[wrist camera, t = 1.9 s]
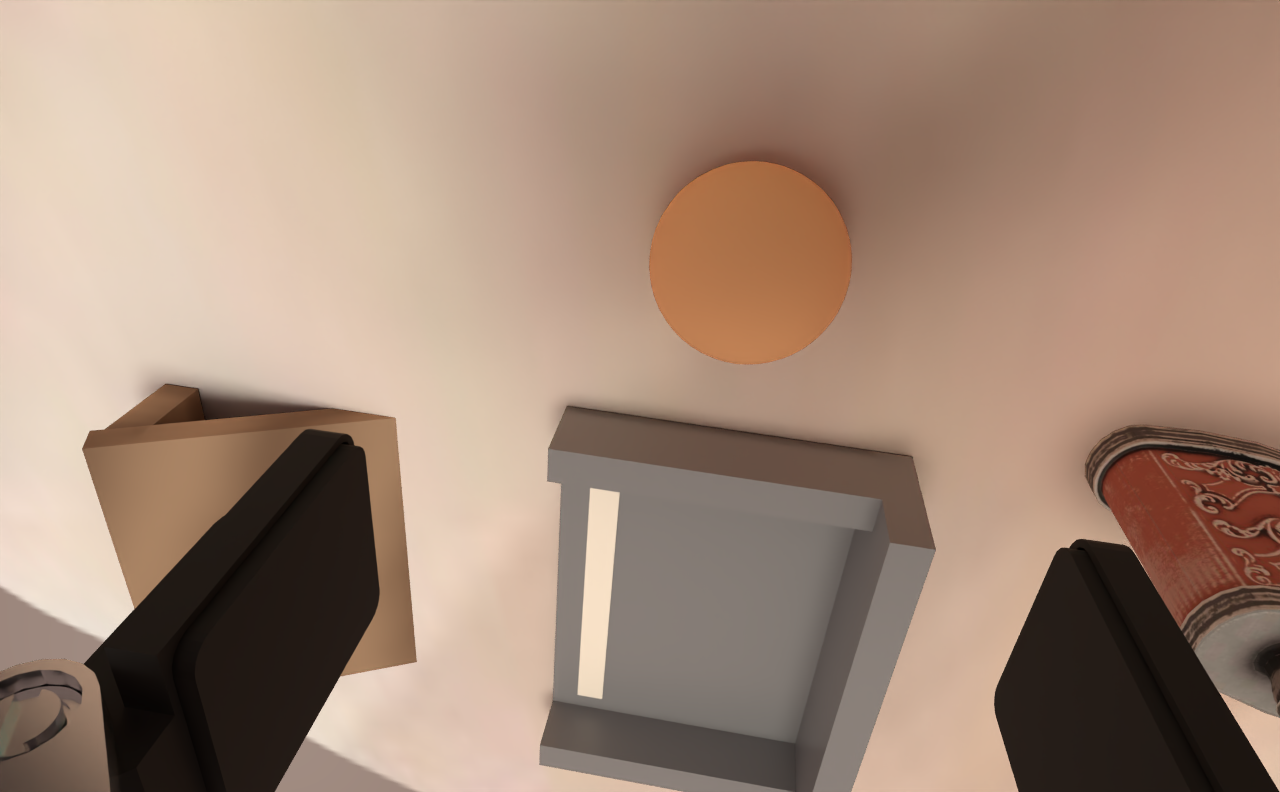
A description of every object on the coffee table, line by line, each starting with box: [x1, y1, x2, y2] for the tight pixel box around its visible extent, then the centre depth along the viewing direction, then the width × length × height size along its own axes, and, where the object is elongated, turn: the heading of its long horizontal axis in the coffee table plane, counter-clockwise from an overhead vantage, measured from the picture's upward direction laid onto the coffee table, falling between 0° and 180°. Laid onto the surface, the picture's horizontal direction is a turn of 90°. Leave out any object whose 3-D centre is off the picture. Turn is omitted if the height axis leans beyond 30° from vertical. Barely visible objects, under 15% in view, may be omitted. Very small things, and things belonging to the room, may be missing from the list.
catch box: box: [539, 406, 936, 792], centre depth 28 cm, size 11×15×4 cm
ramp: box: [82, 384, 417, 676], centre depth 30 cm, size 9×12×5 cm
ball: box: [649, 161, 852, 364], centre depth 20 cm, size 5×5×5 cm
